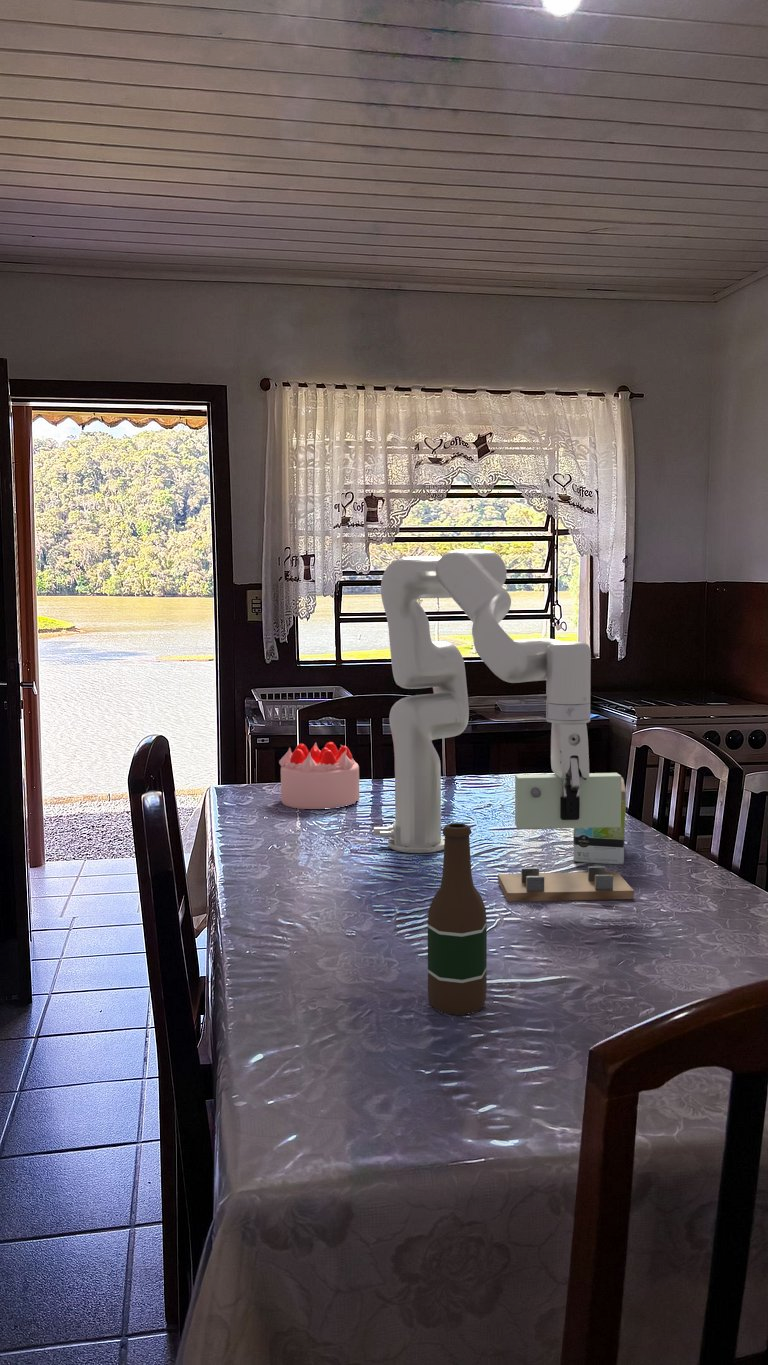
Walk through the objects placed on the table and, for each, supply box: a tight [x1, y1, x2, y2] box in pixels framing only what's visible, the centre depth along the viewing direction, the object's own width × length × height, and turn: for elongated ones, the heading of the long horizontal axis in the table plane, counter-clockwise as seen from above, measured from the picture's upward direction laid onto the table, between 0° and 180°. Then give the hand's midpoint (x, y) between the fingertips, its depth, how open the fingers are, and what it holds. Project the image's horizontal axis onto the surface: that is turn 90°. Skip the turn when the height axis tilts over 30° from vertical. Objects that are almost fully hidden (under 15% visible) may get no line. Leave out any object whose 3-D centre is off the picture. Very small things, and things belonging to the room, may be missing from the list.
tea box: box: [572, 776, 627, 865], centre depth 199 cm, size 15×10×15 cm, turn 168°
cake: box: [278, 741, 360, 810], centre depth 248 cm, size 20×20×14 cm
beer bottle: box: [427, 822, 488, 1016], centre depth 128 cm, size 8×8×24 cm
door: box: [514, 772, 622, 830], centre depth 172 cm, size 18×4×9 cm, turn 92°
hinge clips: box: [520, 865, 613, 892], centre depth 174 cm, size 15×6×2 cm, turn 92°
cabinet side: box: [497, 871, 635, 902], centre depth 176 cm, size 22×11×2 cm, turn 92°
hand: (567, 815), depth 173 cm, fingers closed on door, 3 cm apart
